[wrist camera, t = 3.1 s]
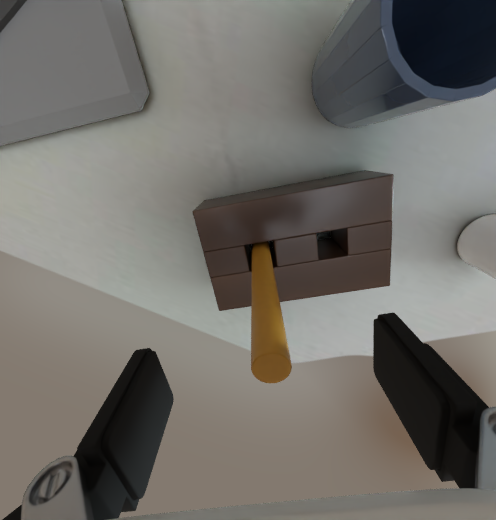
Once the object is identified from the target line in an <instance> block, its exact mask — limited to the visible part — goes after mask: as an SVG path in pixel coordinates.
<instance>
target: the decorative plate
mask: <svg viewBox="0 0 496 520" xmlns="http://www.w3.org/2000/svg"><path fill="white" fill-rule="evenodd" d="M149 94H150V92H149V89H148V86H147V82H146V79H145V76H144V72H143V69H142V66H141V62H140V59H139V56H138V52H137V49H136V46H135V42H134V39H133V36H132V32H131V29H130V26H129V23H128V19H127V16H126V13H125V9H124V6H123V3H122V0H0V146H2V145H6V144H10V143H14V142H18V141H22V140H26V139H30V138H34V137H38V136H42V135H46V134H50V133H54V132H58V131H62V130H66V129H70V128H74V127H78V126H82V125H86V124H90V123H94V122H98V121H102V120H106V119H110V118H114V117H118V116H122V115H126V114H130V113H134V112H138V111H142V109H143V107H144V104H145V102H146V100H147V98H148V96H149Z"/></svg>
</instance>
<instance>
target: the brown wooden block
mask: <svg viewBox="0 0 496 520" xmlns="http://www.w3.org/2000/svg"><path fill="white" fill-rule="evenodd" d="M393 182H394V175H393V174H387V173H380V172H373V171H360V172H354V173H349V174H344V175H338V176H333V177H328V178H322V179H317V180H312V181H306V182H301V183H295V184H290V185H285V186H279V187H274V188H269V189H263V190H258V191H253V192H247V193H242V194H237V195H231V196H226V197H220V198H215V199H210V200H204V201H203V202H202V203H201V204H200V205H199V206H198V207H197V208H196V209H195V210H194V211H193V215H194V219H195V222H196V226H197V230H198V234H199V237H200V241H201V245H202V248H203V251H204V256H205V260H206V263H207V267H208V271H209V275H210V277H211V282H212V286H213V289H214V293H215V297H216V301H217V304H218V308H219V311H222V310H229V309H235V308H242V307H249V306H252V251H250V248H249V244H254V243H260V242H266V241H272V244H273V248H270V253H271V259H272V264H273V269H274V275H275V280H276V285H277V291H278V296H279V301H280V302H283V301H289V300H296V299H303V298H310V297H316V296H323V295H330V294H337V293H343V292H350V291H357V290H364V289H370V288H377V287H384V286H389V285H390V265H391V240H392V210H393ZM325 231H331V238H327V239H321V240H317V234H316V233H319V232H325Z"/></svg>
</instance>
